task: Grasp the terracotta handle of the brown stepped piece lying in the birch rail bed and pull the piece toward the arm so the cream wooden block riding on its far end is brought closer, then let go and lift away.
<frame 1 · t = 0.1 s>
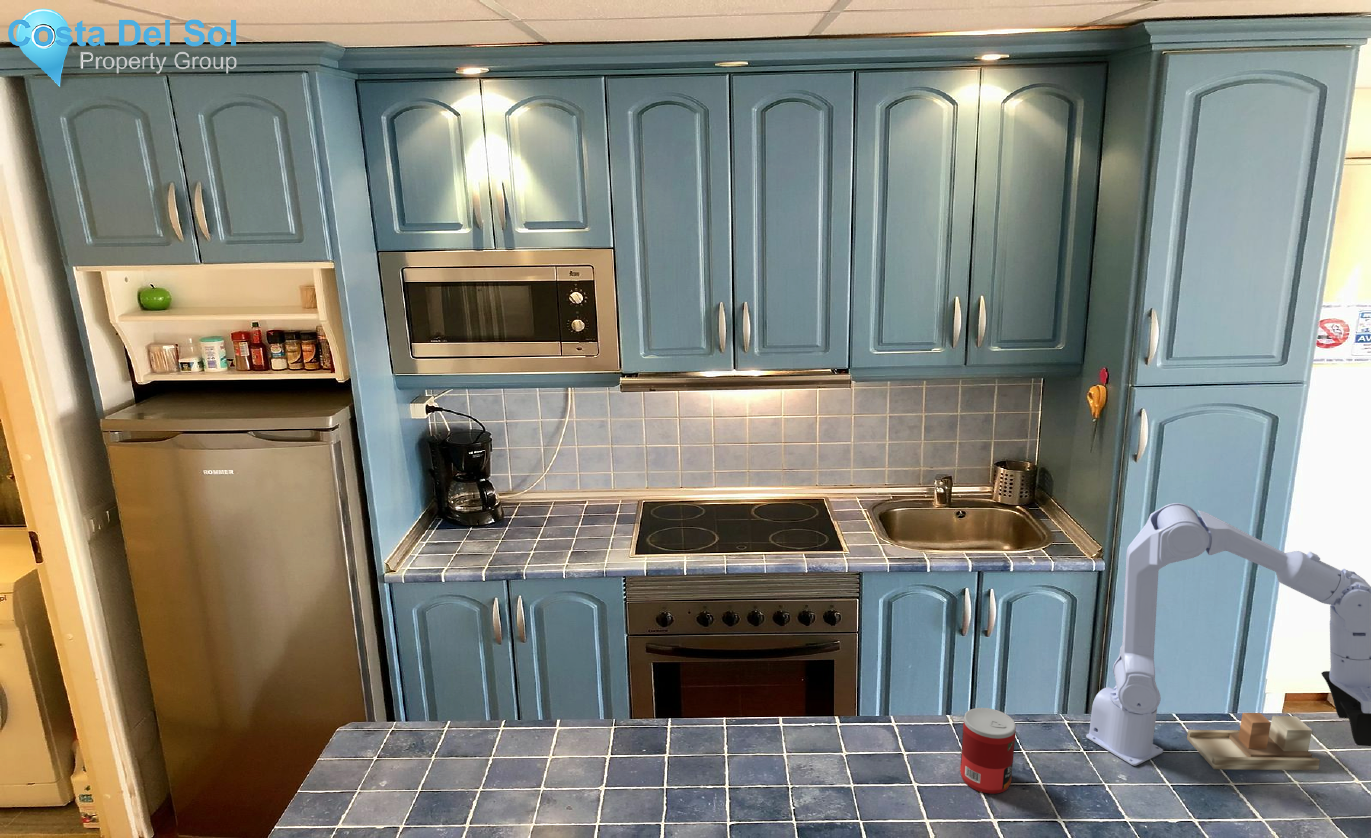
hand: (1354, 730, 134), 11 cm above the countertop, tool pointing down, fingers open, 7 cm apart
brown stepped piece: (1272, 733, 144), point 4 cm above the countertop, slide at 0.0 cm, touching cube
rail bed: (1250, 753, 145), on the countertop
cube: (1288, 743, 145), point 2 cm above the countertop, touching brown stepped piece
canned food: (984, 780, 140), on the countertop
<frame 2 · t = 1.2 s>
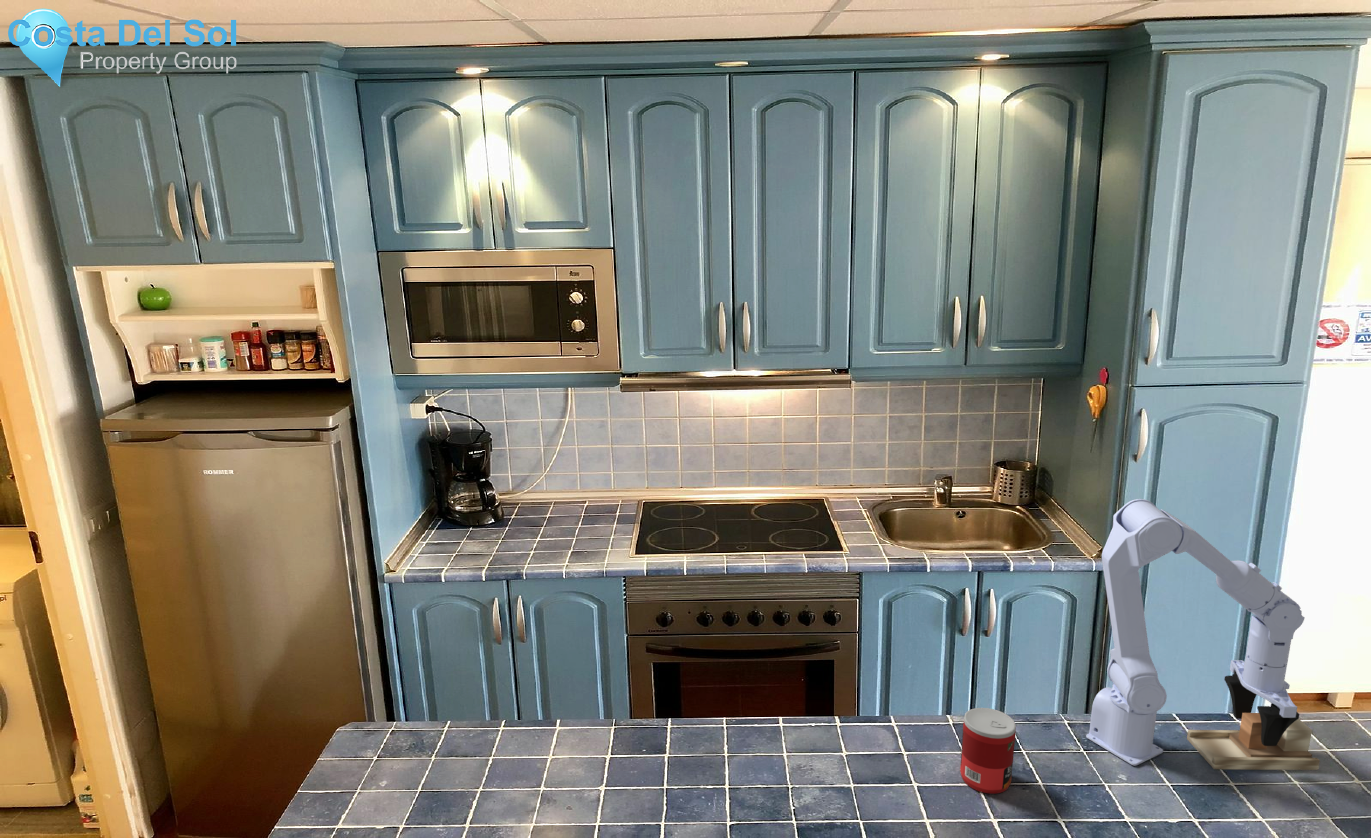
hand: (1254, 731, 144), 4 cm above the countertop, tool pointing down, fingers open, 7 cm apart
nothing on the countertop moved.
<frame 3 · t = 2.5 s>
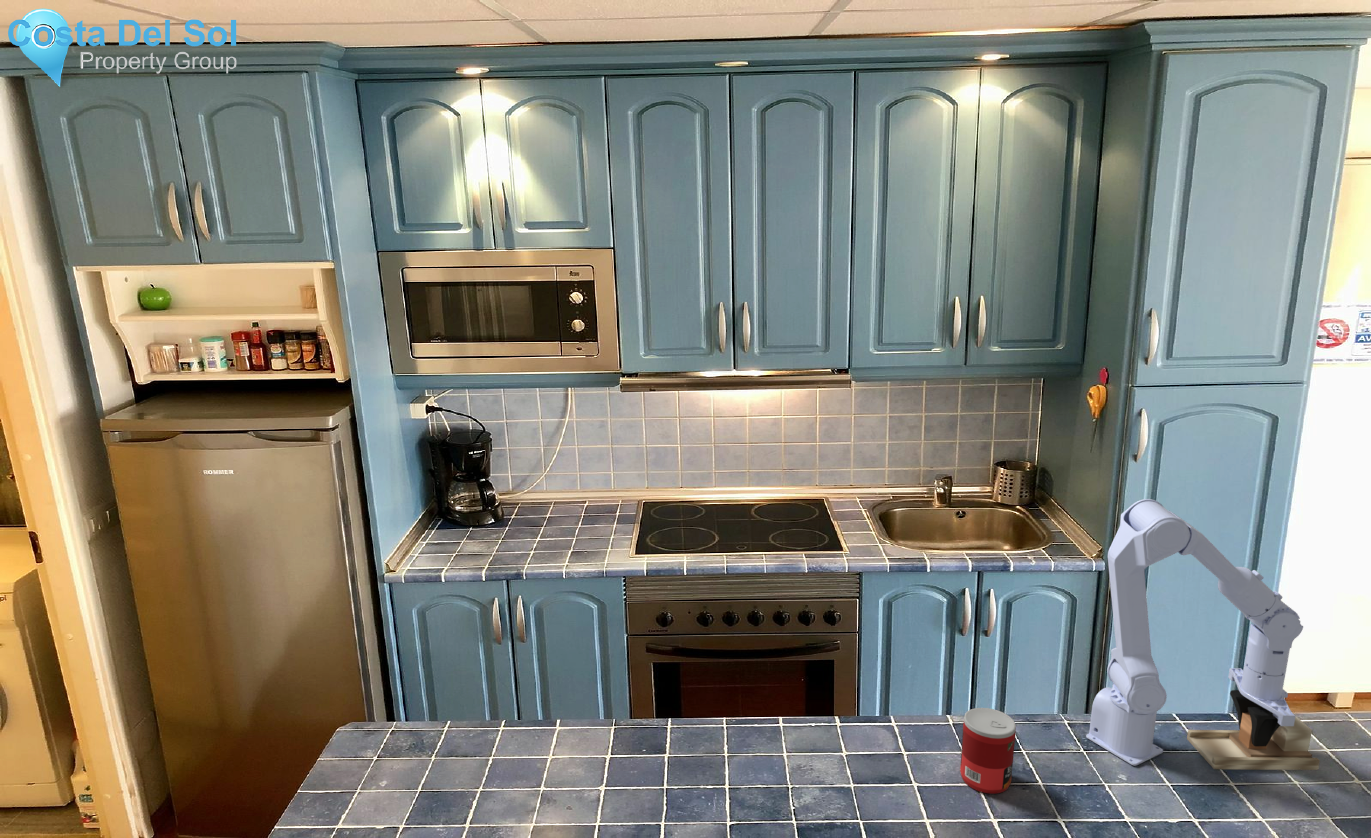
hand: (1253, 739, 145), 3 cm above the countertop, tool pointing down, fingers closed on brown stepped piece, 3 cm apart
brown stepped piece: (1272, 733, 144), point 4 cm above the countertop, slide at 0.0 cm, touching cube, gripper
everything else where it was.
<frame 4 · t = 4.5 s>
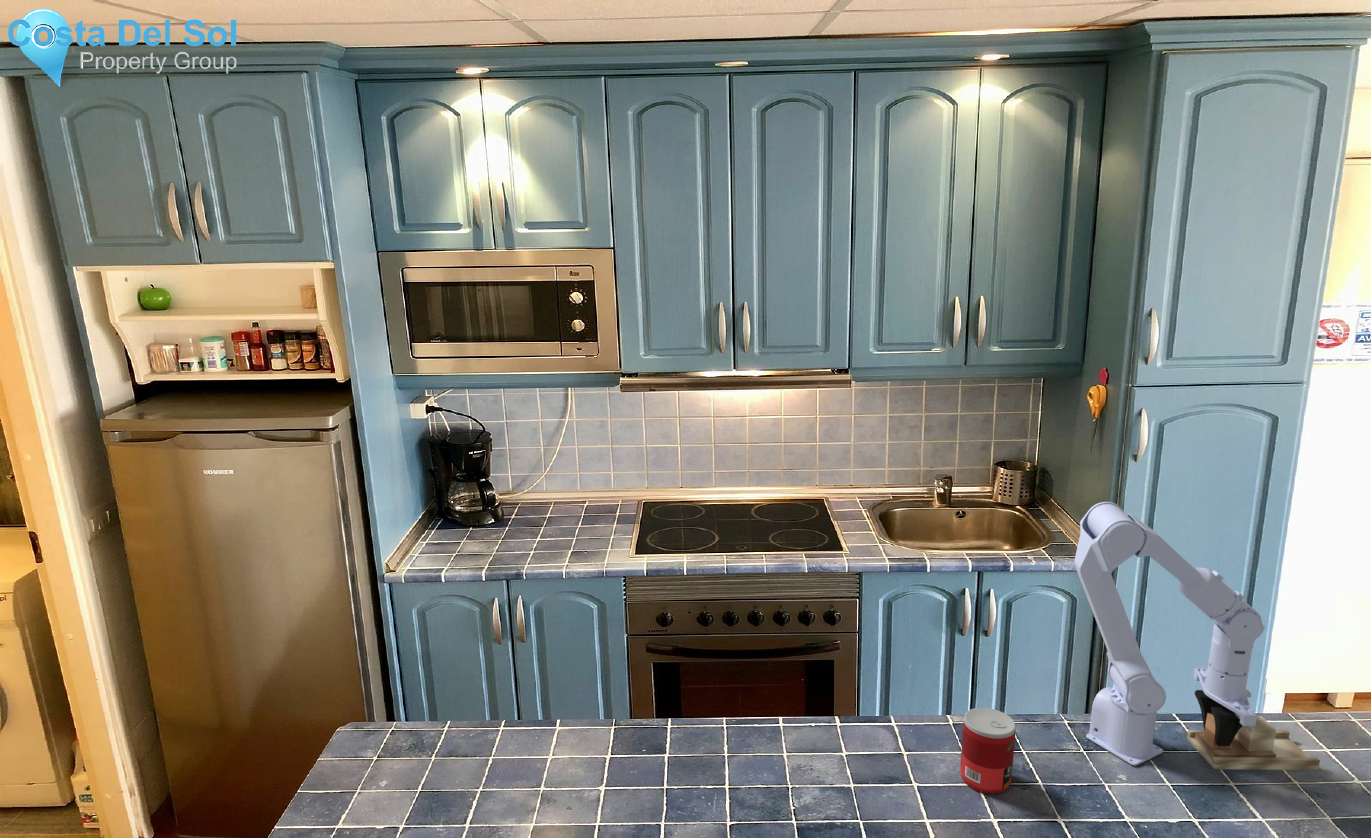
hand: (1217, 738, 145), 3 cm above the countertop, tool pointing down, fingers closed on brown stepped piece, 3 cm apart
brown stepped piece: (1236, 733, 144), point 4 cm above the countertop, slide at 5.9 cm, touching gripper
cube: (1253, 743, 145), point 2 cm above the countertop
everything else where it was.
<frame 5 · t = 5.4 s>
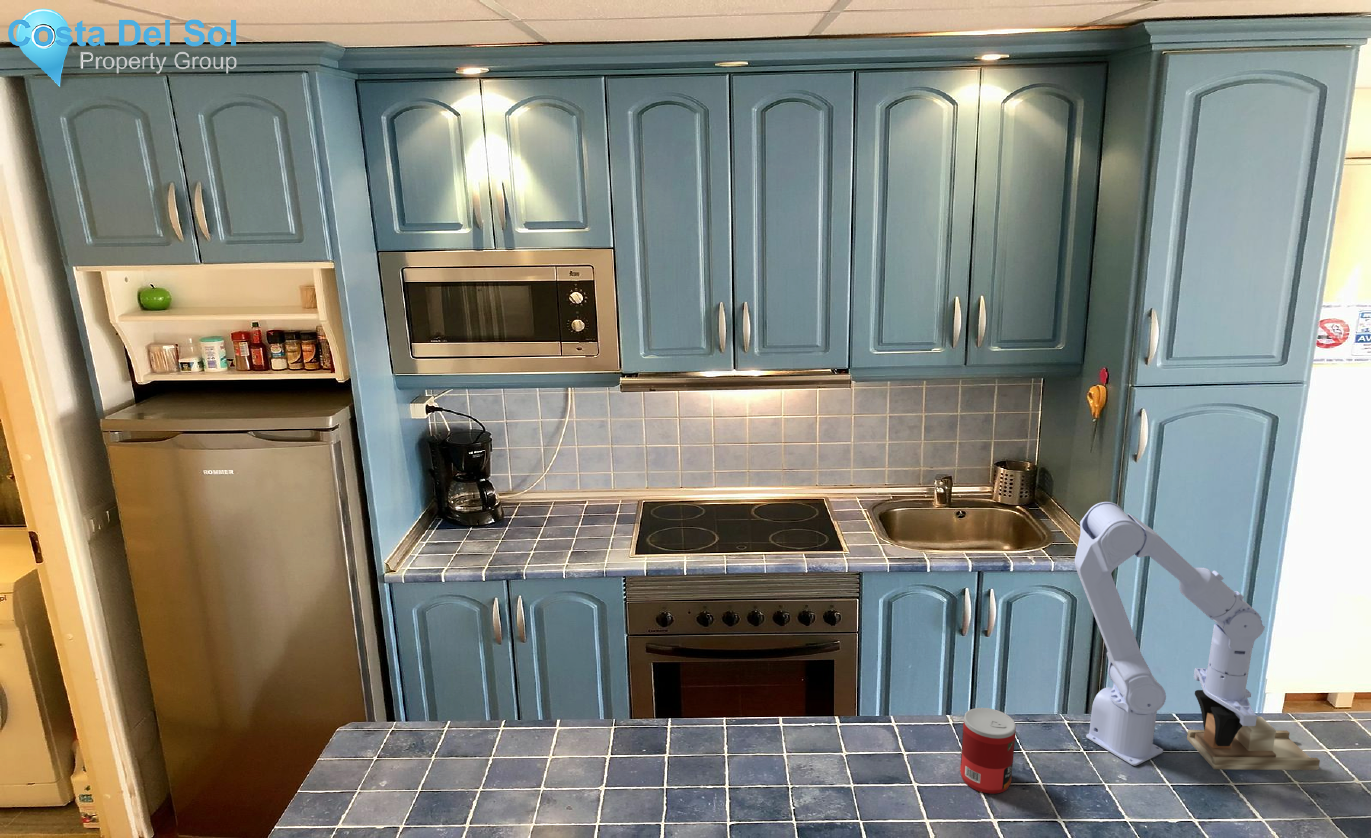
hand: (1217, 738, 145), 3 cm above the countertop, tool pointing down, fingers closed on brown stepped piece, 3 cm apart
brown stepped piece: (1236, 733, 144), point 4 cm above the countertop, slide at 5.9 cm, touching gripper
everything else where it was.
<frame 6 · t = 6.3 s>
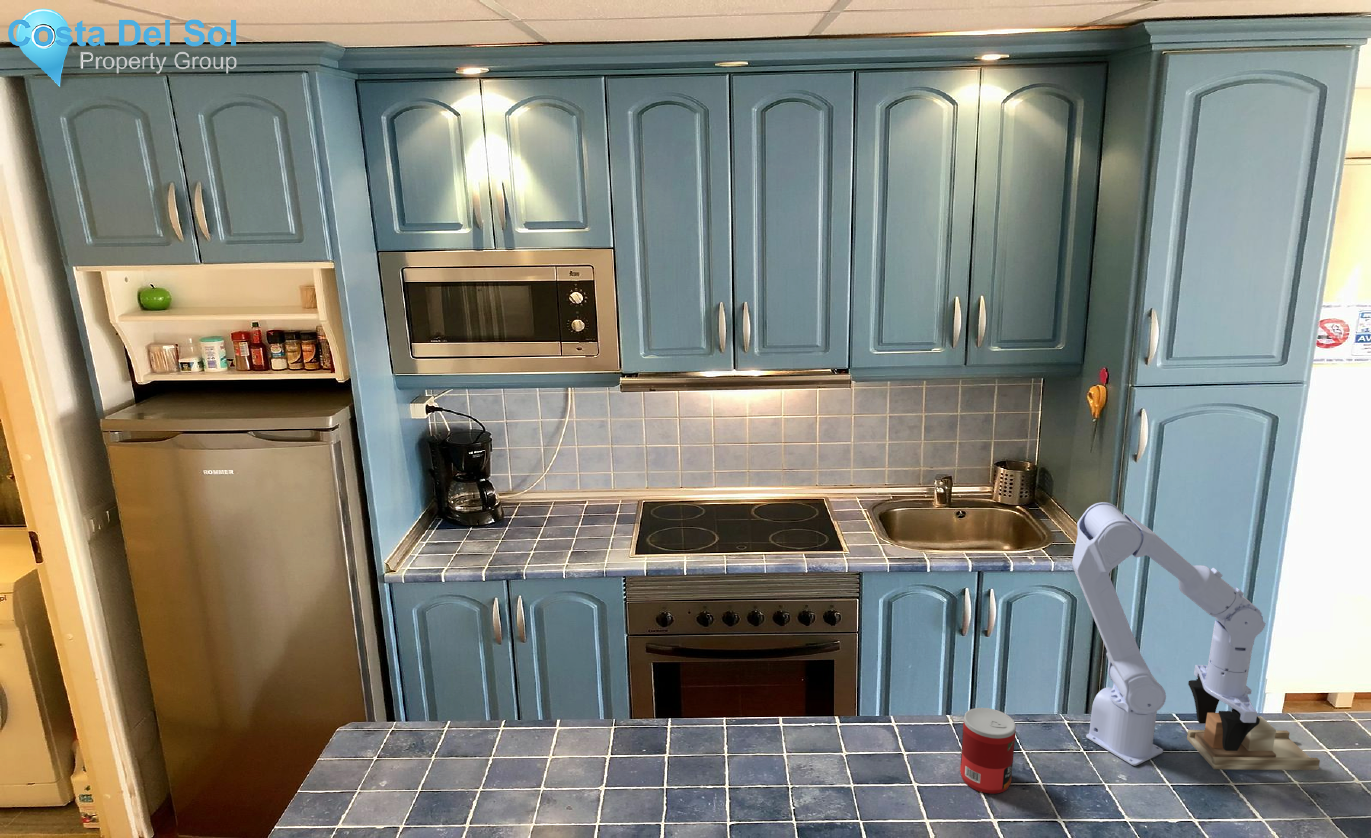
hand: (1217, 735, 145), 4 cm above the countertop, tool pointing down, fingers open, 7 cm apart
brown stepped piece: (1236, 733, 144), point 4 cm above the countertop, slide at 5.9 cm, touching cube
cube: (1253, 743, 145), point 2 cm above the countertop, touching brown stepped piece
everything else where it was.
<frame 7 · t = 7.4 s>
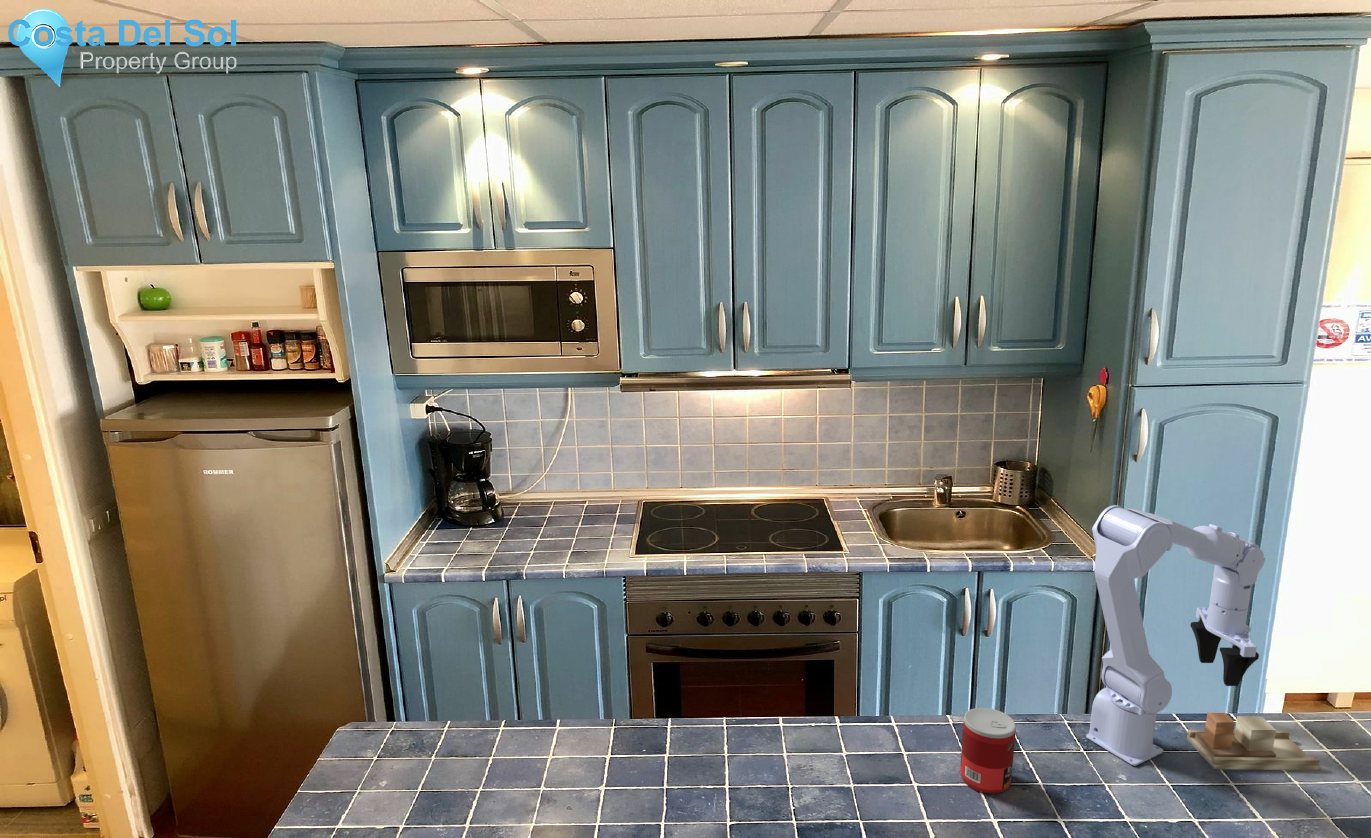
hand: (1218, 673, 151), 10 cm above the countertop, tool pointing down, fingers open, 7 cm apart
brown stepped piece: (1236, 733, 144), point 4 cm above the countertop, slide at 5.9 cm
cube: (1253, 743, 145), point 2 cm above the countertop
everything else where it was.
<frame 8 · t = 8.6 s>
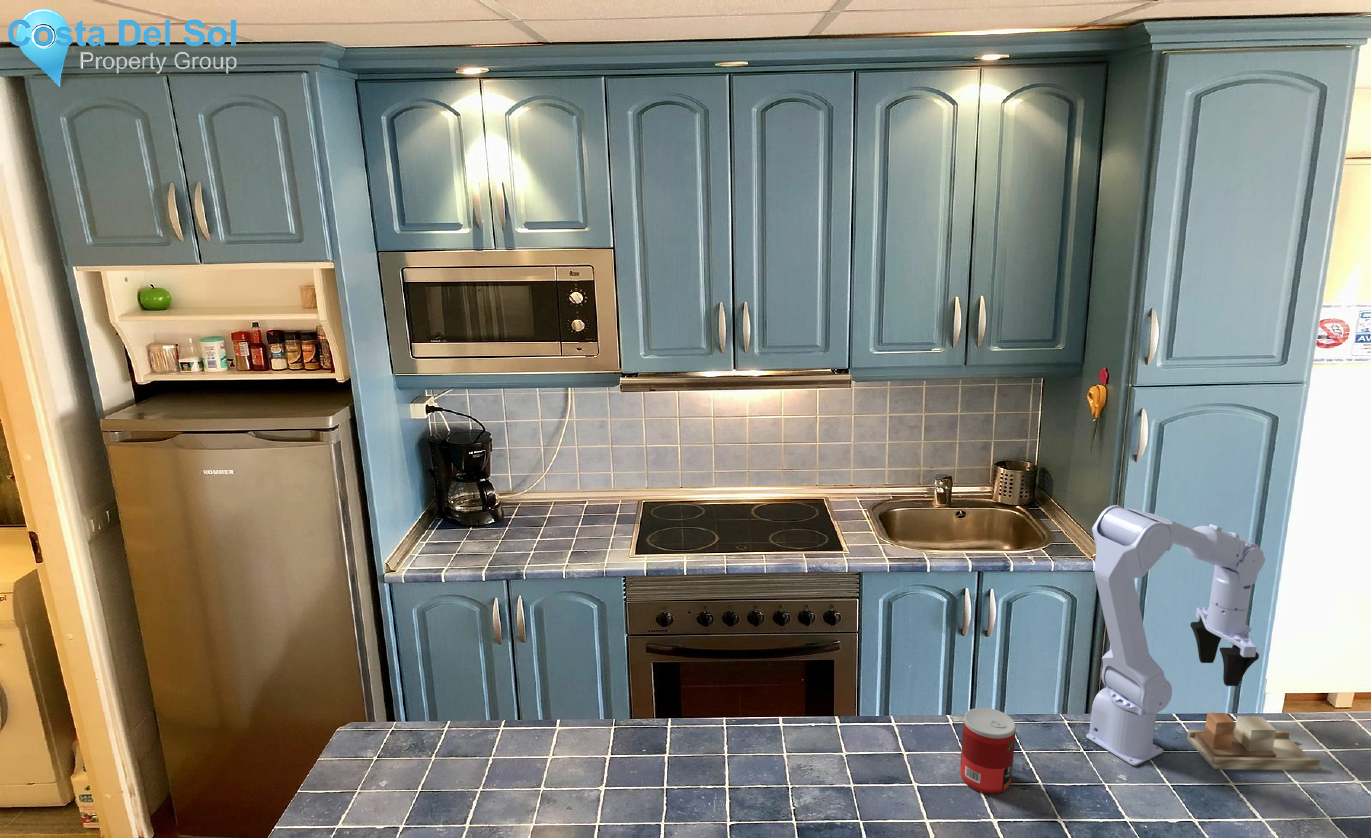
hand: (1218, 673, 151), 10 cm above the countertop, tool pointing down, fingers open, 7 cm apart
brown stepped piece: (1236, 733, 144), point 4 cm above the countertop, slide at 5.9 cm, touching cube
cube: (1253, 743, 145), point 2 cm above the countertop, touching brown stepped piece
everything else where it was.
at the end: brown stepped piece slide at 5.9 cm; cube moved 5.9 cm from its start; cube tilted 0° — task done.
